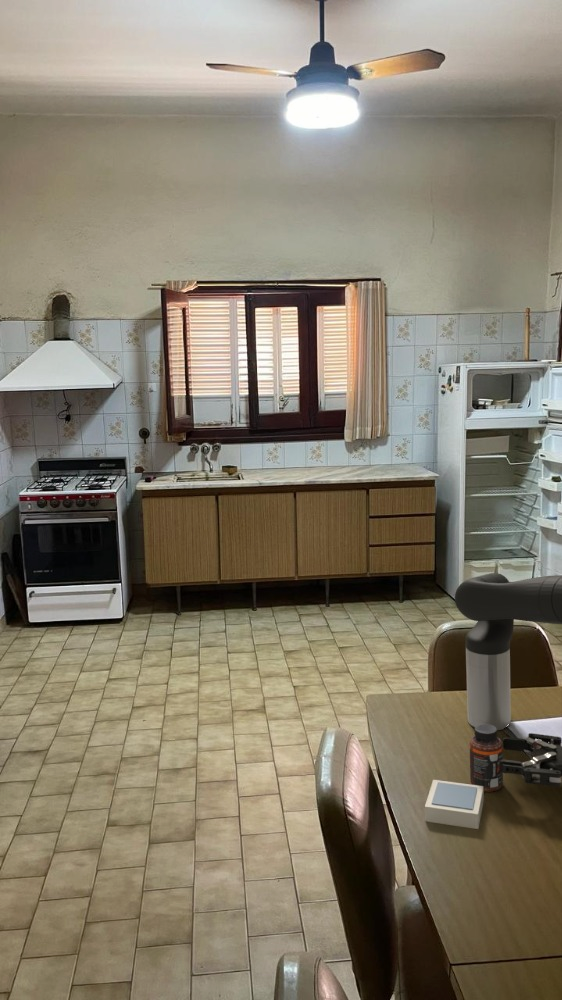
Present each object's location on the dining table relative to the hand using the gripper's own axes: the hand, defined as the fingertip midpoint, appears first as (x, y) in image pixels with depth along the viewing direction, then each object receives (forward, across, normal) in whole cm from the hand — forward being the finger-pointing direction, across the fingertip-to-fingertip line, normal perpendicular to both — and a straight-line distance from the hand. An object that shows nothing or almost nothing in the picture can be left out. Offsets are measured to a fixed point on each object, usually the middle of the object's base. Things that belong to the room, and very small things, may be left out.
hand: (501, 754), depth 139 cm
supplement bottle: (+3, 0, +7) cm, 7 cm away
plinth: (+7, +10, +6) cm, 14 cm away
